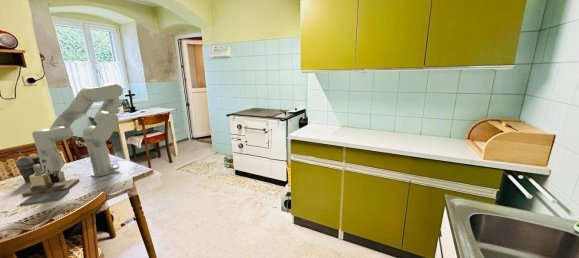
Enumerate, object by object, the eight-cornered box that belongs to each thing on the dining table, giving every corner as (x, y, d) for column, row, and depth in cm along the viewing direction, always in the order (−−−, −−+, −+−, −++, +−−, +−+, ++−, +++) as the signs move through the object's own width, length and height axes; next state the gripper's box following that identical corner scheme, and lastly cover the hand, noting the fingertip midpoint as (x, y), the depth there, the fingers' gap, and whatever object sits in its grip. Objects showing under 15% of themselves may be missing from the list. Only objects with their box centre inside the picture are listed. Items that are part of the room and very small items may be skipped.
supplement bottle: (29, 178, 147) (23, 160, 144) (34, 174, 153) (28, 157, 150) (43, 175, 150) (38, 158, 147) (48, 171, 156) (43, 155, 153)
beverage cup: (28, 184, 138) (17, 153, 133) (19, 183, 140) (8, 152, 135) (43, 179, 145) (33, 149, 140) (34, 178, 147) (24, 148, 142)
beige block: (31, 186, 128) (29, 176, 127) (39, 181, 134) (37, 172, 132) (60, 184, 132) (58, 174, 130) (67, 179, 137) (65, 169, 136)
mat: (69, 191, 129) (68, 190, 129) (58, 200, 121) (58, 198, 121) (33, 196, 125) (33, 195, 125) (20, 205, 117) (19, 204, 117)
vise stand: (79, 181, 142) (72, 158, 138) (67, 190, 131) (59, 165, 127) (38, 186, 137) (30, 162, 133) (22, 196, 125) (13, 170, 122)
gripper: (46, 155, 122) (56, 186, 127) (65, 146, 137) (73, 174, 142) (28, 157, 120) (39, 189, 125) (49, 147, 135) (58, 176, 140)
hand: (57, 181), depth 133 cm, fingers closed on beige block
